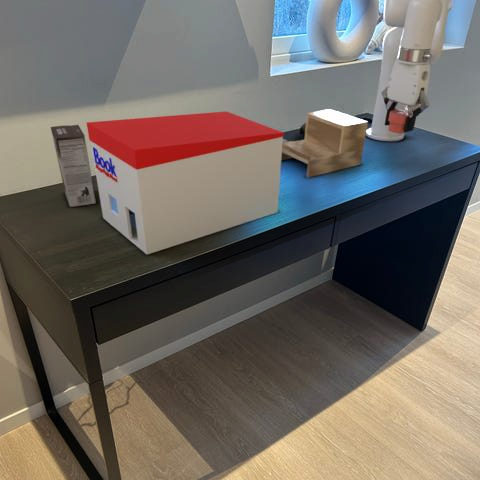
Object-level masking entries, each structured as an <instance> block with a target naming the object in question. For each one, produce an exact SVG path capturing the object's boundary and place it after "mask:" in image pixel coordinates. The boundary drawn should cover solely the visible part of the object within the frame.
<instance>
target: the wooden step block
mask: <svg viewBox="0 0 480 480" xmlns="http://www.w3.org/2000/svg"><path fill="white" fill-rule="evenodd" d="M305 123H306V128H305V135H304V139H300V140H295V141H293V142H290V141H289V142H290V143H285V144H283V143H282V156H281V161H284V160H290V159H293V158H294V159H295V160H298V161H300V162H303V164H306V165H307V167H306V178H312V177H316V176H320V175H324V174H329V173H332V172H336V171H340V170H344V169H348V168H352V167H356V166H359V165H362V159H363V154H364V147H365V141H366V137H367V136H366V130H367V129H368V125H369V121H368V120H364V119H362V118H358V117H356V116H352V115H349V114H347V113H344V112H340V111H337V110H334V109H331V108H327V109H323V110H317V111H311V112H307V113H306V119H305Z"/></svg>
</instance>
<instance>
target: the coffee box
mask: <svg viewBox="0 0 480 480" xmlns="http://www.w3.org/2000/svg"><path fill="white" fill-rule="evenodd" d="M50 131H51V134H52V140H53V144H54V149H55V154H56V159H57V163H58V167H59V172H60V177H61V181H62V186H63V190H64V192H65V193H64V194H65V197H66V200H67V203H68V206H69V207H71V208H72V207H79V206H86V205H87V206H88V205H93V204H96V203H97V201H96V195H95V190H94V189H95V188H94V183H93V177H92V171H91V170H92V169H91V164H90V158H89V153H88V146H87V142H86V135H85V133H84V132H83V130H82V128H81V127H80V125H79V124H73V125H55V126H50Z"/></svg>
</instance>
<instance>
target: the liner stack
mask: <svg viewBox="0 0 480 480" xmlns="http://www.w3.org/2000/svg"><path fill="white" fill-rule="evenodd" d="M408 116H409V112H408V110H406V109H405V110H392V111H390V114H389V119H388V120H389V122H390V124H389V129H388V130H389V131H390V132H393V133H404V134H406V133H407V132H404V126H405V122H406V118H407V117H408Z"/></svg>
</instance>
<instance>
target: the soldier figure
mask: <svg viewBox="0 0 480 480" xmlns="http://www.w3.org/2000/svg"><path fill="white" fill-rule="evenodd" d="M276 130H278V131H281V130H280V128H278V129H276ZM290 142H294V140H290V141H288V140H286V139H284V138H283V141H282V143H283V144H285V143H290Z"/></svg>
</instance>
